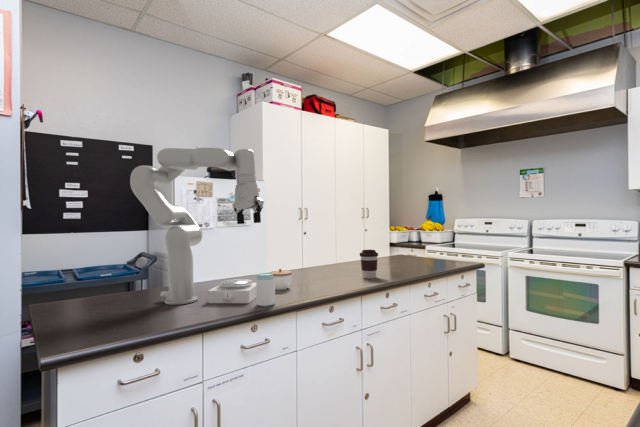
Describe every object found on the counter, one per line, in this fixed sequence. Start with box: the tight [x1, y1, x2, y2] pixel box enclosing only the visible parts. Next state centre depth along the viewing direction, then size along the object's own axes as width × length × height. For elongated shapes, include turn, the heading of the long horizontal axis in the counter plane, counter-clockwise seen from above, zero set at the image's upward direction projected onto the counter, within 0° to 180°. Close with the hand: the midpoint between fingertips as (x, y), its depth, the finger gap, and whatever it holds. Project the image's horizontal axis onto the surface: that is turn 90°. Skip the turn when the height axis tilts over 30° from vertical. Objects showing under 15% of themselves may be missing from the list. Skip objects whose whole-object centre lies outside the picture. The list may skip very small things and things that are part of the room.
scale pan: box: [217, 278, 253, 288], centre depth 149 cm, size 14×14×1 cm
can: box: [255, 272, 276, 308], centre depth 136 cm, size 7×7×12 cm
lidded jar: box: [268, 268, 293, 291], centre depth 167 cm, size 11×11×9 cm
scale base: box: [207, 282, 257, 304], centre depth 148 cm, size 17×18×5 cm
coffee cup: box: [359, 249, 379, 280], centre depth 190 cm, size 10×10×15 cm
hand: (248, 223), depth 140 cm, fingers open, 9 cm apart
